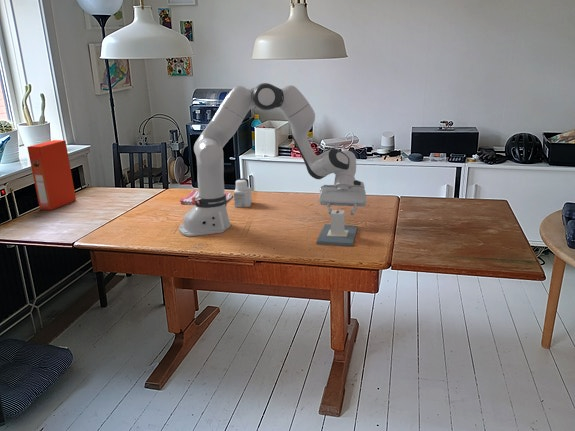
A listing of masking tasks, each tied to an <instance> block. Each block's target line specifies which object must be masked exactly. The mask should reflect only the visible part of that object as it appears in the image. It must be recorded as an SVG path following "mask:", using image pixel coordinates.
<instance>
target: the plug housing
mask: <svg viewBox="0 0 575 431" xmlns="http://www.w3.org/2000/svg"><path fill="white" fill-rule="evenodd" d="M345 217H346V216H345V210H338V209H337V210H336V209H332V212H331V214H330V224H331V235H343V234H344V231H345V225H346V223H345Z"/></svg>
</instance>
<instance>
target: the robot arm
mask: <svg viewBox="0 0 575 431" xmlns="http://www.w3.org/2000/svg"><path fill="white" fill-rule="evenodd" d="M253 108H255V109H258V110H260V111H264V112H265V111H271V110H274V109H276V108H278V109H279V110H281V111H282V113H283V115H285V117H286V118H287V120H288V122H289V124H290V126H291V130H290V133H291V137H292V140H293V142H294V144H295V146H296V148H297V150H298V152H299V153H300V156H301V158H302V159H303V161H304V164H305V168H306V170H307V173H308V174H309V176H311V177H312V178H313V179H315V180H322V179H323V178H325V177H327V176H329V175H331V174H334V175H335V176H334V183H333V184H323V185H322V186H320V188H319V197H318V202H319V205H321V206H326V207H327V209H328V211H327V212H328V215H331V212H332V210H333V209H332V208H331V206H335V207H336V206H339V207H353V209H350V216H355V213H356V211H357V210H358V207H366V206H367V194H366V189H365V184H364V182H363V181H361V180H358V179H356V178H355V175H356V173H357V157H356V155H355V153H353V151H350V150H347V149H344V150H340V149H338V148H334V147H332V148H330V149H328V150H326V151H323V153H320V154H318V155H317V154H316V153H315V151H314V149H313V148H312V146H311V143H310V142H309V138H308V134H309V132H310V130H311V129H312V127H313V126H314V124H315V120H316V113H315V110H314V109H313V107H312V106H311V104H310V103H309V101H308V100H307V98H306V97H305V96H304V95H303V93H302V92H301V91H300V90H299V89H298V87H296V86H295V85H286V86H284V87H282V88H280V87H277V86H275V85H273V84H271V83H268V82H262V83H261V82H260V84H259V83H258V85H256V86H254V87H253V88H251V89H249V88H247V87H246V86H242V85H236V86H234V87H233V88H232V89H231V90H230V91H229V93H228V94H226V96H225V98H224V99H223V100H222V102H221V104H220V105H219V107H218V109H217V110H216V112H215V114H214V115H213V117H212V118H211V119H210V121H209V123H208V124H207V125H206V126H205V128H204V129H203V130H202V132H201V133H200V135H199V137H198V138H197V139H196V140H195V143H194V145H193V152H194V154H195V158H196V171H197V188H198V190H197V191H199V196H198V197H197V198H196V197H192V201H193V202H195V205H194V206H193V207H192V208H191V209H190V210H189V211H187V212H186V213H185V214H184V217H183V224H181V225H179V226H178V232H179V233H180V234H181V235H183V236H186V237H197V236H203V235H204V236H205V235H212V234H219V233H224V232H225V231H226V230H227V229H229V228H230V227H231V221H230V219H229V214H228V210H227V205H228V204H227V202H228V201H227V200H226V194H225V193H226V192H225V180H224V179H225V178H224V169H225V167H224V165H225V164H224V150H223V148H224V147H225V145H226V144H227V143H229V140H230V139H231V138H233V136H235V134H236V132H237V131H238V129H239V127H240V126H241V124H242V123H243V121H244V119H245V117H246V116H247V114H248V113H249V111H250V110H251V109H253Z"/></svg>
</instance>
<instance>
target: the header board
mask: <svg viewBox="0 0 575 431" xmlns="http://www.w3.org/2000/svg"><path fill="white" fill-rule="evenodd" d="M357 231H358V225H350V224H348V225H347V224H345V231H344V234H343V235H331V223H329V224H328V223H325V224H324V225H323V227H322V230H321V231H320V234H319V236H318V238H317V239H316V245H324V246H325V245H329V246H343V247H344V246H346V247H348V246H349V247H353V244H354V241H355V238H356V235H357Z"/></svg>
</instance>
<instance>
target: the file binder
mask: <svg viewBox="0 0 575 431" xmlns="http://www.w3.org/2000/svg"><path fill="white" fill-rule="evenodd" d="M26 148H27V154H28V157H29V162H30V167H31V172H32V177H33V181H34V187H35V192H36V195H37V196H36V197H37V201H38V206H39V209H40V210H45V211H53V210H55V209H58V208H61V207H63V206H65V205H68V204H71V203H72V202H75V201H77V196H76V190H75V186H74V185H75V184H74V181H73V174H72V169H71V164H70V157H69V154H68V148H67V142H66V140H64V139H63V140H60V139H58V140H57V139H52V140H49V141H45V142H42V143H37V144H33V145H29V146H27V147H26Z"/></svg>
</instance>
